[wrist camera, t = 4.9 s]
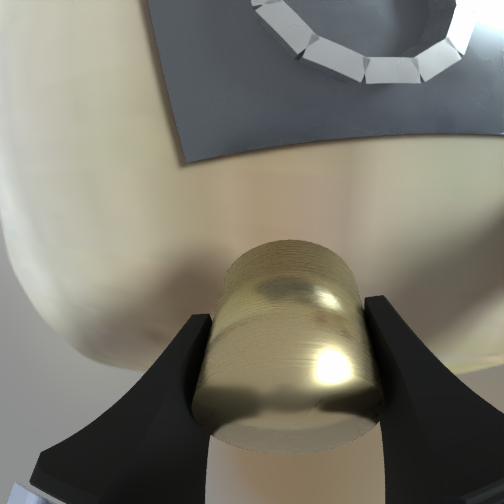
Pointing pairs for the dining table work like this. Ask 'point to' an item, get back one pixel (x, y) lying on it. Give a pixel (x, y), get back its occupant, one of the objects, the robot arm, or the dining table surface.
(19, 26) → the dining table surface
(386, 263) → the dining table surface
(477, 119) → the socket plate
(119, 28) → the dining table surface
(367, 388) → the cylinder
